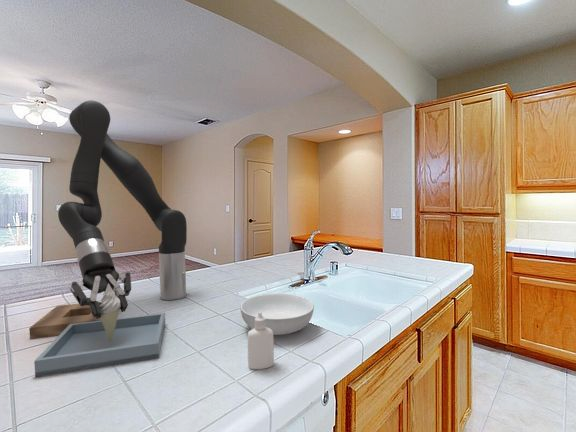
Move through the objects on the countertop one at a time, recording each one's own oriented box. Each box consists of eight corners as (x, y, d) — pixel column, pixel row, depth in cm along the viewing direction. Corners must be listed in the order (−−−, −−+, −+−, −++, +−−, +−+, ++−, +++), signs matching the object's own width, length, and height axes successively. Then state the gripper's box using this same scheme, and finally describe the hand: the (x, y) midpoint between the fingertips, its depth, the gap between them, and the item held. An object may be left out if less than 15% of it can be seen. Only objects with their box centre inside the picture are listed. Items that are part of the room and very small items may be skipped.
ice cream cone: (111, 346, 74) (109, 286, 73) (94, 344, 75) (91, 285, 74) (126, 337, 79) (124, 280, 78) (109, 335, 80) (107, 279, 79)
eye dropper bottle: (253, 358, 70) (252, 307, 70) (276, 362, 69) (275, 310, 68) (245, 368, 66) (244, 314, 66) (269, 372, 65) (268, 317, 64)
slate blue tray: (165, 324, 90) (164, 312, 90) (158, 357, 71) (158, 343, 71) (70, 336, 83) (70, 323, 83) (35, 377, 64) (34, 361, 64)
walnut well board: (119, 308, 104) (119, 299, 104) (105, 329, 87) (105, 319, 87) (57, 314, 99) (57, 305, 99) (30, 338, 82) (29, 327, 81)
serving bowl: (289, 352, 73) (289, 324, 73) (225, 333, 84) (224, 308, 84) (326, 322, 91) (326, 299, 90) (269, 309, 102) (268, 289, 101)
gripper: (64, 254, 75) (80, 314, 68) (126, 247, 86) (145, 298, 79) (60, 272, 79) (75, 330, 72) (120, 263, 90) (138, 313, 83)
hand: (112, 313), depth 75 cm, fingers closed on ice cream cone, 5 cm apart
